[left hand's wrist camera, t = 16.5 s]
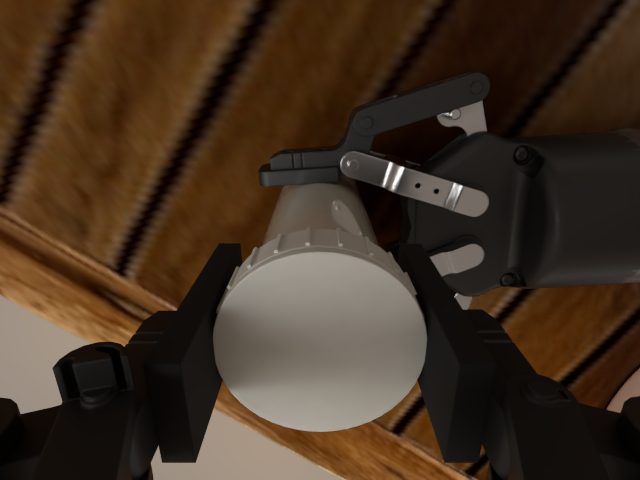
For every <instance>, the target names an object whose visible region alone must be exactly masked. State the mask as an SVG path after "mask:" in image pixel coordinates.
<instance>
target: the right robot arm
mask: <svg viewBox="0 0 640 480" xmlns="http://www.w3.org/2000/svg"><path fill="white" fill-rule="evenodd" d="M489 90H490V81H489V79H488V77H487V76H486V75H485V74H483V73H466V74H456V75H453V76H450V77H447V78H444V79H441V80H438V81H435V82H431V83H428V84H425V85H422V86H419V87H416V88H413V89H410V90H407V91H404V92H401V93H398V94H395V95H391V96H388V97H385V98H382V99H379V100H376V101H373V102H370V103H367V104H364V105H361V106H358V107H356V108H354V109H353V110H352V112H351V113H350V117H349V123H348V126H347V129H346V133H345V136H344V138H343V139H342V141H341V142H340V143H339V144H337V145H335V146H331V147H317V148H303V149H302V148H301V149H286V150H281V151H279V152H277V153H275V154H273V156H272V157H271V158H270V164H265V165H262V166H261V168H260V169H259V179H260V186H265V187H269V186H285V185H301V184H314V183H334V182H339V180H338V176H347V177H350V178H353V179H357V180H360V181H363V182H367V183H370V184H374V185H377V186H380V187H383V188H385V189H387V190H389V191H391V192H394V193H397V194H400V204H401V208H402V211H403V218H402V222H401V225H400V228H399V239H398V240H395V241H393V242H390V243H388V244H385V245H383V246H382V247H380V248H382V249H383V250H384V251H385V252H386V253H388V252H390V253H392V256H393V258H394V260H395V262H396V263H397V264H398V259H399V247H400V244H422V246H423V247H424V249H425V251H426V252H427V254H428V255H429V257H430V259H431V260H432V262H433V263H434V265H435V266H436V268H437V270H438V271H439V273H440V274H441V276H442V277H443V279H444V281H445V282H446V284H447V285H448V287H449V288H450V290H451V292H452V293H453V295H454V296H455V298H456V300H457V301H458V303H459V304H460V306H461V307H462V309H463V310H468V308H469V305H470V303H471V300H472V297H475V296H479V295H481V294H483V293H485V292H487V291H489V290H491V289H494V288H497V287H516V288H526V289H534V288H551V287H569V286H586V285H604V284H621V283H638V282H640V130H637V129H631V128H622V129H614V130H610V131H608V132H597V133H581V134H566V135H550V136H535V137H520V138H502V137H500V136H498V135H497V134H495V133H492V132H488V131H487V128H486V121H485V115H484V108H483V102H482V100H483V99H484V98H485V97H486V96H487V95H488V93H489ZM430 117H432V118H433V120H434V121H435V122H436V123H437V124H439V125H442V126H445V127H453V126H456V127H457V128H458V129H459V130H460V133H461V134H460V135H459V136H458V137H456V138H455V139H454V140H452V141H451V142H450V143H448V144H447V145H446V146H445V147H443V148H442V149H441V150H439V151H438V152H437V153H435V154H434V155H433V156H432V157H430V158H429V159H428V160H426V161H425V162H424V163H422V164H419V163H416V162H413V161H410V160H406V159H403V158H400V157H396V156H393V155H389V154H383V153H380V152H376V151H373V150H370V149H371V146H372V143H373V140H374V137H375V135H376V134H379V133H382V132H386V131H389V130H392V129H395V128H398V127H401V126H405V125H408V124H411V123H414V122H417V121H420V120H424V119H427V118H430Z"/></svg>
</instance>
